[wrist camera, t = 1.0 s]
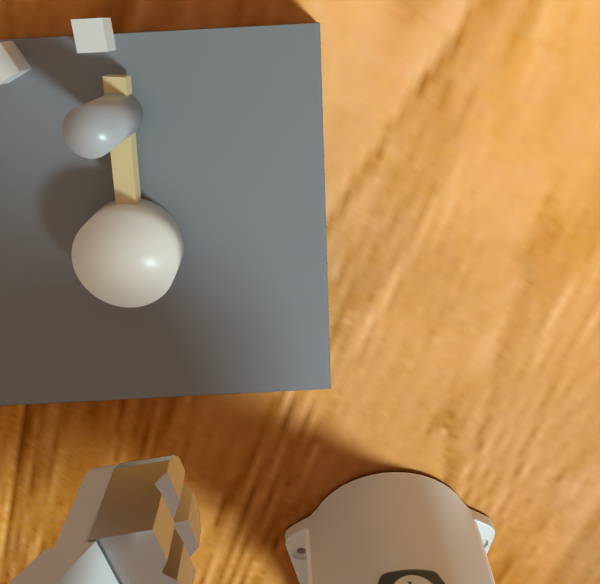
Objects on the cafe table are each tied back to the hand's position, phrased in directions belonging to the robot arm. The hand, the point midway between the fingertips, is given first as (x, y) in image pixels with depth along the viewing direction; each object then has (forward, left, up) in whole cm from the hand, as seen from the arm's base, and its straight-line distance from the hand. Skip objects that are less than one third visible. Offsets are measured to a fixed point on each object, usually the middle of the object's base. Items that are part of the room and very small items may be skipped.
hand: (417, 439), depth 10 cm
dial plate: (-6, +12, -30) cm, 32 cm away
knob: (-2, +12, -26) cm, 29 cm away
